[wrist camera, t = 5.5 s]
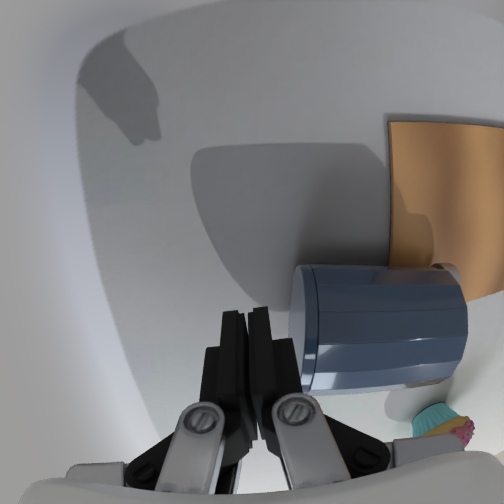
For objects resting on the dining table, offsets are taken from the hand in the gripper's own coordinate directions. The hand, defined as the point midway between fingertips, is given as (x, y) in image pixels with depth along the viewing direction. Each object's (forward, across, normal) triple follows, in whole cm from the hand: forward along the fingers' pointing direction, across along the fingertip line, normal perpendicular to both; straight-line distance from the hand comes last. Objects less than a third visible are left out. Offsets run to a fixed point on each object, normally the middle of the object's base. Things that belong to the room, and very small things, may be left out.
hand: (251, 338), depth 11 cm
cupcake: (+8, -18, +25) cm, 32 cm away
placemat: (+8, -29, 0) cm, 30 cm away
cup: (+4, -2, +3) cm, 5 cm away
